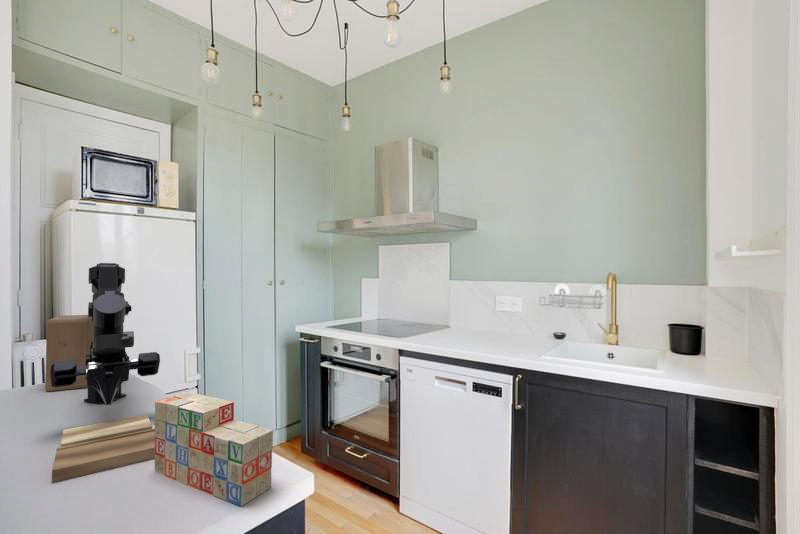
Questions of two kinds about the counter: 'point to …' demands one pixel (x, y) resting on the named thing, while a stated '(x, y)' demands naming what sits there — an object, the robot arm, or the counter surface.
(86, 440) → the oak plank
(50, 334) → the wooden block
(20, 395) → the counter surface
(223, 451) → the stack of blocks
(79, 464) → the wooden molding strip
